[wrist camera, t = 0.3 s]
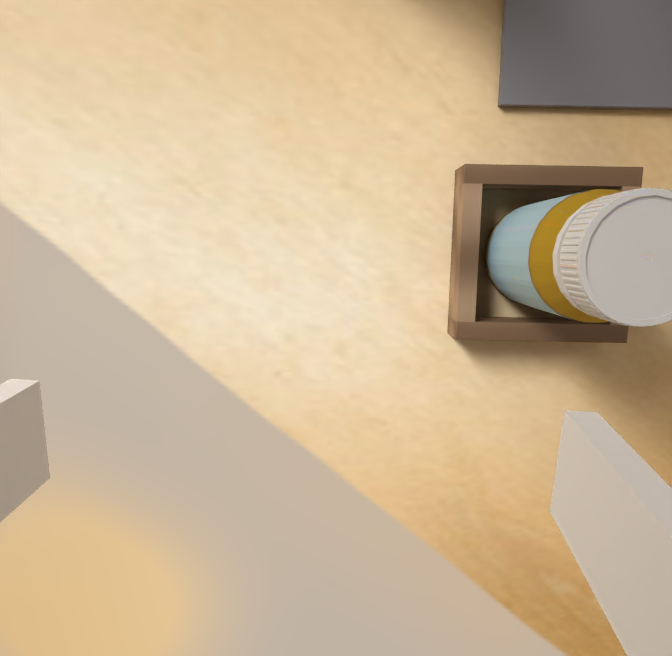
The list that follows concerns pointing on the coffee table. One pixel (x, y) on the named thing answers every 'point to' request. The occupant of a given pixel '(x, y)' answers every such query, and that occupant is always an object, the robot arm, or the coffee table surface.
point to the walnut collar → (467, 249)
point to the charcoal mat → (586, 54)
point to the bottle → (589, 256)
